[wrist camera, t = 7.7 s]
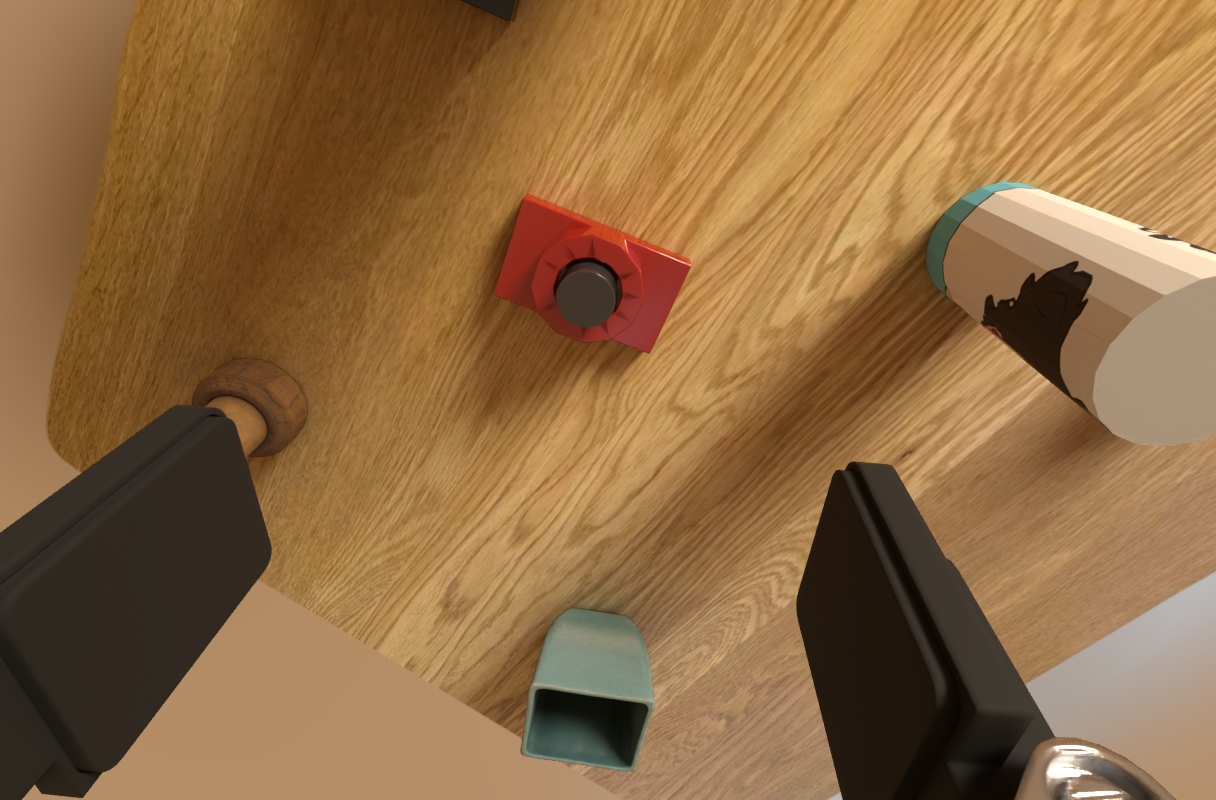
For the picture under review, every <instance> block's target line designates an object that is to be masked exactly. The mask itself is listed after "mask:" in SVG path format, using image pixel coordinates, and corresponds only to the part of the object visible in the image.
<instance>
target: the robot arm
mask: <svg viewBox="0 0 1216 800" xmlns="http://www.w3.org/2000/svg"><path fill="white" fill-rule="evenodd" d="M271 550H272V548H271V543H270V539H269V536H268V533H267V529H266V526H265V522H264V519H263V516H262V512H261V509H260V505H259V502H258V498H257V495H256V492H255V488H254V485H253V481H252V478H251V475H250V471H249V468H248V464H247V461H246V458H245V454H244V451H243V447H242V444H241V441H240V437H239V434H238V430H237V427H236V425H235V423H234V421H233V420H232V419H230V418H227V416H226V414H225V413H224V412H223V411H222V410H221V409H218V408H216V407H204V406H192V405H176V406H174V407H172V408H170V409H169V410H167V411H166V412H164V413H163V414H162V415H160V416H159V417H158V418H156V419H155V420H154V421H152V422H151V423H149V424H148V425H147V426H145V427H144V428H143V429H141V430H140V431H139V432H137V433H136V434H134V435H133V436H132V437H130V438H129V439H128V440H126V441H125V442H123V443H122V444H121V445H119V446H118V447H117V448H115V449H114V450H113V451H111V452H110V453H108V454H107V455H106V456H104V457H103V458H102V459H100V460H99V461H98V462H96V463H95V464H93V465H92V466H91V467H89V468H88V469H87V470H85V471H84V472H82V473H81V474H80V475H78V476H77V477H76V478H74V479H73V480H72V481H70V482H69V483H67V484H66V485H65V486H63V487H62V488H61V489H59V490H58V491H57V492H55V493H54V494H53V495H51V496H50V497H48V498H47V499H46V500H44V501H43V502H42V503H40V504H39V505H38V506H36V507H35V508H33V509H32V510H31V511H29V512H28V513H26V514H25V515H24V516H22V517H21V518H20V519H19V520H17V521H16V522H14V523H13V524H11V525H10V526H9V527H7V528H6V529H5V530H3V531H2V532H0V800H22V798H24V796H25V795H26V794H27V793H28V791H29V790H30V789H31V788H32V787H33V786H34V785H36V786H37V788H38V789H39V791H40V792H41V793H42V794H49V795H58V796H68V797H77V798H83V797H84V796H85V794H86V793H87V792H88V791H89V789H90V788H91V787H92V785H93V784H94V783H95V781H96V780H97V779H98V777H99V776H100V775H101V774H102V772H106V771H108V770H110V769H111V768H113V767H114V766H115V765H117V764H118V762H119V761H120V760H121V759H122V758H123V757H124V755H125V754H126V753H127V751H128V750H129V749H130V747H131V746H132V745H133V744H134V742H135V741H136V739H137V738H138V737H139V736H140V734H141V733H142V732H143V730H144V729H145V728H146V726H147V725H148V723H149V722H150V721H151V720H152V718H153V717H154V716H155V714H156V713H157V712H158V710H159V709H160V708H161V706H162V705H163V704H164V702H165V701H166V700H167V699H168V697H169V696H170V695H171V693H172V692H173V691H174V689H175V688H176V687H177V685H178V684H179V683H180V681H181V680H182V679H183V677H184V676H185V675H186V673H187V672H188V671H189V670H190V668H191V667H192V666H193V664H194V663H195V662H196V660H197V659H198V658H199V656H200V655H201V654H202V652H203V651H204V650H205V648H206V647H207V646H208V644H209V643H210V642H211V640H212V639H213V638H214V636H215V635H216V634H217V633H218V631H219V630H220V629H221V627H222V626H223V625H224V623H225V622H226V621H227V619H228V618H229V617H230V615H231V614H232V613H233V611H234V610H235V609H236V607H237V606H238V605H239V603H240V602H241V601H242V600H243V598H244V597H245V596H246V594H247V593H248V591H249V590H250V589H251V587H252V586H253V585H254V584H255V582H256V581H257V580H258V578H259V577H260V576H261V574H262V573H263V572H264V570H265V569H266V567H267V566H268V563H269V561H270V558H271ZM796 609H797V617H798V622H799V626H800V630H801V634H802V638H803V642H804V646H805V650H806V654H807V658H808V662H809V666H810V670H811V674H812V678H813V682H814V686H815V690H816V694H817V698H818V702H819V706H820V710H821V714H822V718H823V722H824V726H825V730H826V734H827V739H828V743H829V747H830V751H831V755H832V759H833V763H834V767H835V771H836V775H837V779H838V783H839V787H840V791H841V795H842V798H843V800H1176V799H1175V798H1174V797H1173V796H1172V795H1171V794H1170V793H1169V792H1168V791H1167V790H1166V789H1165V788H1164V787H1163V786H1162V785H1161V784H1160V783H1159V782H1158V781H1156V780H1155V779H1154V778H1153V777H1152V776H1151V775H1150V774H1148V773H1147V772H1145V771H1144V770H1142V769H1141V768H1140V767H1138V766H1136V765H1135V764H1134V763H1133V762H1131V761H1129V760H1128V759H1127V758H1125V757H1123V756H1121V755H1119V754H1117V753H1115V752H1113V751H1111V750H1109V749H1107V748H1105V747H1103V746H1101V745H1099V744H1095V743H1092V742H1088V741H1085V740H1081V739H1078V738H1057V737H1055V736H1054V734H1053V732H1052V731H1051V729H1050V727H1049V725H1048V724H1047V722H1046V720H1045V719H1044V717H1043V715H1042V713H1041V712H1040V710H1039V708H1038V706H1037V705H1036V703H1035V701H1034V700H1033V698H1032V696H1031V695H1030V693H1029V691H1028V689H1027V688H1026V686H1025V684H1024V682H1023V681H1022V679H1021V677H1020V676H1019V674H1018V672H1017V670H1016V669H1015V667H1014V665H1013V664H1012V662H1011V660H1010V658H1009V657H1008V655H1007V653H1006V652H1005V650H1004V648H1003V646H1002V645H1001V643H1000V641H999V639H998V638H997V636H996V634H995V633H994V631H993V629H992V627H991V626H990V624H989V622H988V621H987V619H986V617H985V615H984V614H983V612H982V610H981V609H980V607H979V605H978V603H977V602H976V600H975V598H974V597H973V595H972V593H971V591H970V590H969V588H968V586H967V585H966V583H965V581H964V579H963V578H962V576H961V574H960V572H959V571H958V569H957V568H956V567H955V565H954V564H953V563H952V562H951V561H950V560H948V559H947V558H945V556H944V554H943V553H942V551H941V549H940V547H939V546H938V544H937V542H936V540H935V539H934V537H933V535H932V533H931V532H930V530H929V528H928V526H927V525H926V523H925V521H924V519H923V518H922V516H921V514H920V512H919V511H918V509H917V507H916V505H915V504H914V502H913V500H912V498H911V497H910V495H909V493H908V491H907V490H906V488H905V486H904V484H903V483H902V481H901V479H900V477H899V476H898V474H897V472H896V470H895V469H894V468H893V467H892V466H891V465H888V464H877V463H865V462H850V463H849V464H848V465H847V467H846V469H845V470H836V471H835V473H834V474H833V477H832V480H831V483H830V486H829V490H828V493H827V497H826V500H825V503H824V507H823V510H822V513H821V517H820V520H819V524H818V527H817V530H816V534H815V537H814V540H813V544H812V547H811V551H810V554H809V557H808V561H807V564H806V567H805V571H804V574H803V578H802V581H801V584H800V588H799V591H798V595H797V607H796Z"/></svg>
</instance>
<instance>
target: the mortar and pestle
mask: <svg viewBox="0 0 1216 800" xmlns="http://www.w3.org/2000/svg"><path fill="white" fill-rule="evenodd" d="M192 406H204V407H216V408H218V409H221V410H222V411H223V412H224V413H225V414H226V416H227V418H230V419H232V420H233V421H234V423H235V425H236V427H237V430H238V434H239V437H240V441H241V444H242V447H243V451H244V454H245V458H247V457H266V456H270V455H273V454H275V453H277V452H279V451H280V450H282V449H283V448H284V447H285V446H286V445H287V444H288V443H289V442H290V441H291V440H292V439H293V438H294V437H295V436H296V435H297V434H298V433H299V431H300V430H301V429H302V427H303V426H304V424H305V422H306V418H307V403H306V400H305V397H304V395H303V393H302V391H301V389H300V388H299V386H298V385H297V383H296V382H295V381H294V380H293V379H292V378H291V377H290V376H289V375H288V374H287V373H285V372H284V371H283V370H281V369H280V368H278V367H276V366H275V365H273V364H270V363H268V362H265V361H261V360H256V359H237V360H233V361H230V362H227V363H225V364H224V365H222V366H220V367H219V368H218V369H216V370H215V371H214V372H213V373H211V374H210V375H208V376H207V377H206V378H204V379H203V380H202V381H201V382H200V383H199V384H198V385H197V387H196V389H195V391H194V393H193V397H192Z"/></svg>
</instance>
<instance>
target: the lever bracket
mask: <svg viewBox="0 0 1216 800" xmlns="http://www.w3.org/2000/svg"><path fill="white" fill-rule="evenodd" d="M462 1H464V2H466V3H468V4H471V5H473V6H475V7H477V8H480V9H482V10H484V11H486V12H489V13H491V14H493V15H495V16H498V17H500V18H502V19H504V20H507V21H510V22H514V20H515V17H516V13H517V9H518V5H519V1H520V0H462Z"/></svg>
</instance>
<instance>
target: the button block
mask: <svg viewBox="0 0 1216 800" xmlns="http://www.w3.org/2000/svg"><path fill="white" fill-rule="evenodd" d="M583 261H591V262H596V263H599V264H601V265H603V266H604V267H606V268H607V269H608V270H609V271H610V272H611V274H612V275H613V277H614V279H615V281H616V285H617V296H616V304H615V308H614V311H613V313H612V315H611V316H610V317H609V318H608V319H607V320H606V321H605V322H604V323H602V324H600V325H598V326H595V327H587V328H586V327H579V326H576V325H573V324H571V323H570V322H568V321H567V320H566V319H565V318H564V317H563V316H562V315H561V313H560V312H559V310H558V307H557V304H556V292H557V289H558V286H559V283H560V280H561V278H562V276H563V274H564V272H565V271H566V270H567V269H568V268H569V267H571V266H572V265H574V264H576V263H579V262H583ZM690 268H691V262H690V260H689V259H687V258H685V257H683V256H680V255H678V254H675V253H673V252H670V251H668V250H665V249H663V248H660V247H658V246H655V245H653V244H650V243H648V242H646V241H643V240H641V239H638V238H636V237H633V236H631V235H628V234H626V233H623V232H621V231H618V230H616V229H613V228H611V227H609V226H606V225H604V224H601V223H599V222H596V221H594V220H591V219H589V218H586V217H584V216H581V215H579V214H577V213H574V212H572V211H569V210H567V209H564V208H562V207H559V206H557V205H554V204H552V203H549V202H547V201H544V200H542V199H540V198H537V197H535V196H532V195H530V194H526V196H525V197H524V198H523V200H522V203H521V207H520V210H519V213H518V216H517V220H516V223H515V226H514V229H513V233H512V236H511V239H510V242H509V246H508V249H507V252H506V255H505V259H504V262H503V265H502V268H501V272H500V275H499V278H498V281H497V285H496V288H495V291H494V295H496V296H498V297H501V298H503V299H506V300H509V301H511V302H514V303H517V304H519V305H522V306H525V307H527V308H530V309H533V310H535V311H537V312H538V313H539V315H540V316H541V317H542V318H543V319H544V320H545V321H546V322H547V323H548V325H549V326H550V327H551V328H552V329H553V330H554V331H555V332H556V333H558V334H560V335H563V336H566V337H568V338H571V339H574V340H576V341H579V342H583V343H587V342H596V341H604V340H610V339H612V340H614V341H617V342H620V343H622V344H625V345H628V346H630V347H633V348H636V349H638V350H641V351H643V352H646V353H649V354H650V352H651V350H652V348H653V346H654V344H655V342H656V340H657V338H658V336H659V333H660V331H661V329H662V327H663V325H664V323H665V321H666V319H667V316H668V314H669V312H670V310H671V308H672V306H673V304H674V302H675V300H676V297H677V295H678V293H679V291H680V289H681V287H682V285H683V283H684V281H685V278H686V276H687V274H688V272H689V270H690Z"/></svg>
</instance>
